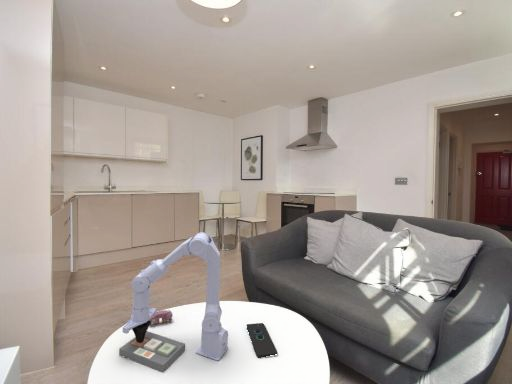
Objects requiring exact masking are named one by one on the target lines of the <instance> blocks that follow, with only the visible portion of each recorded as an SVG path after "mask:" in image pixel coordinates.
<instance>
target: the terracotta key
mask: <svg viewBox="0 0 512 384" xmlns="http://www.w3.org/2000/svg"><path fill="white" fill-rule="evenodd" d="M148 341H149V339H146V338H144V341H143V342H142V343H139V342H137V341H136V340H134V341H133V342H132V343H131V344H132V345H135V346H138V347H141V346H143V345H144V344H145V343H147V342H148Z"/></svg>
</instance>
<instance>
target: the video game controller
mask: <svg viewBox="0 0 512 384" xmlns="http://www.w3.org/2000/svg"><path fill="white" fill-rule="evenodd" d="M172 318H173V311H172V310H170V309H167V310H164V309H161V310H157V314H155V315H152V317H151V318H150V319H149V321H151V323H153V324H154V325H157V324H160V319H161V323H167V321H168V320H170V319H172Z"/></svg>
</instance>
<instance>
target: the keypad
mask: <svg viewBox="0 0 512 384" xmlns="http://www.w3.org/2000/svg"><path fill="white" fill-rule="evenodd" d="M145 338H146V339H149V341H150V340H151V339H152V338H153V339H156V340H159V341H162V346H163V345H164V344H165V343H168V344H171V345H174V346H176V350H175V351H174V352H173V353H172V354H171V355H170V356H169V357H165V356H163V355H160V354H157V350H158V349H159V348H161V347H162V346H160V347H159V348H158V349H157V350H156V351H155V352H152V351H149V350H146V349H144V345H145V344H146V343H145V344H144V345H143V346H141V347H138V346H135V345H132V344H131V343H132V342H133V341H134V340H136V337H135V336H134V337H133V338H132V339H130V340H129V341H128V342H126V343H125V344H124V345H122V346H120V347H119V348H118V350H119V351H118V352H119V353H118V355H119V356H120V355H122V356H124V357H123V358H125V357H126V358H125V359H127V358H129V359H128V360H130V361H133V362H136V363H138V364H140V365H144V366H146V367H148V368H151V369H153V370H156V371H159V372H161V373H164V372H165V371H166V370H167V369H168V368H169V367H170V366H171V365H172V364H173V363H174V361H176V360H177V359H178V358H179V357H181V355H182V354H183V353H184V352H185V350H186V343H184V342H181V341H178V340H176V339H172V338H168V337H167V336H164V335H160V334H158V333H154V332H152V331H148V330H147V331H146V334H145ZM149 341H148V342H149ZM122 356H121V357H122Z"/></svg>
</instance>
